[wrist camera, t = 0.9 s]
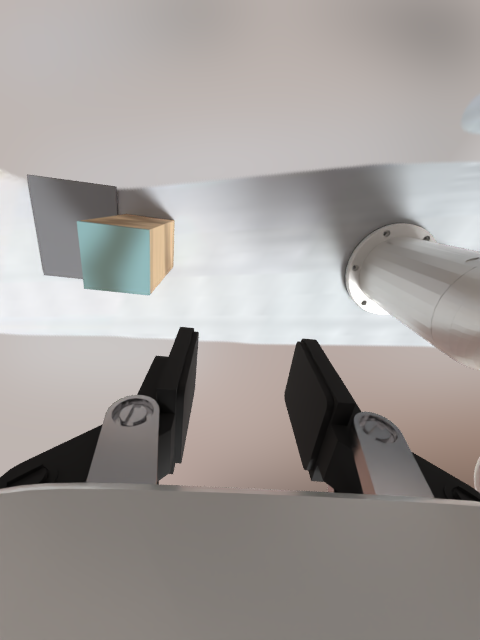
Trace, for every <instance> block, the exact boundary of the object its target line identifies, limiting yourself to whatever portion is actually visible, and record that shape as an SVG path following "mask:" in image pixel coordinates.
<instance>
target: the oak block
mask: <svg viewBox="0 0 480 640" xmlns="http://www.w3.org/2000/svg"><path fill="white" fill-rule="evenodd" d="M77 229H78V238H79V247H80V256H81V264H82V273H83V282H84V289H93V290H103V291H112V292H122V293H131V294H141V295H150V294H151V293H152V292H153V290H154V289H155V288H156V287H157V286H158V284H159V283H160V282H161V281H162V280H163V278H164V277H165V276H166V275H167V274H168V272H169V271H170V270H171V269H172V268H173V255H174V220H168V219H160V218H152V217H144V216H136V215H129V214H124V215H117V216H110V217H102V218H95V219H88V220H81V221H77Z"/></svg>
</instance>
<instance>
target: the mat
mask: <svg viewBox="0 0 480 640" xmlns="http://www.w3.org/2000/svg"><path fill="white" fill-rule="evenodd" d="M27 178H28V184H29V190H30V195H31V201H32V207H33V213H34V219H35V225H36V231H37V236H38V242H39V248H40V254H41V260H42V266H43V272H44V275H50V276H59V277H68V278H78V279H83V273H82V264H81V256H80V247H79V238H78V229H77V221H81V220H88V219H95V218H102V217H110V216H117V215H118V210H117V191H116V187H115V186H108V185H100V184H93V183H86V182H79V181H71V180H64V179H56V178H49V177H42V176H34V175H27Z"/></svg>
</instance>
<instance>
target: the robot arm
mask: <svg viewBox="0 0 480 640" xmlns="http://www.w3.org/2000/svg"><path fill="white" fill-rule="evenodd" d="M384 232H385V234H384V235H383V233H384ZM353 266H354V268H352V267H353ZM345 279H346V287H347V291H348V293H349V295H350V297H351V299H352V300H353V301H354V302H355V303H356V304H357V305H358V306H359V307H361V308H362V309H364V310H366V311H367V312H370V313H374V314H381V315H384V314H390V315H391V316H393V317H394V318H395V319H397V320H398V321H400V322H401V323H402V324H404V325H405V326H406V327H408V328H409V329H411V330H412V331H413V332H415V333H416V334H418V335H419V336H420V337H422V338H423V339H425V340H426V341H427V342H429V343H430V344H432V345H433V346H435V347H436V348H437V349H439V350H440V351H441V352H443V353H445V354H446V355H448V356H449V357H450V358H452V359H453V360H455V361H456V362H458V363H460V364H462V365H464V366H466V367H469V368H472V369H475V370H479V371H480V252H479V251H474V250H469V249H464V248H459V247H454V246H450V245H445V244H440V243H437V242H436V240H435V239H434V237H433V236H432V235H431V234H430V233H429V232H428V231H427V230H426V229H424V228H422V227H420V226H417V225H413V224H406V223H398V224H391V225H387V226H384V227H382V228H380V229H378V230H375V231H374V232H372V233H371V234H370V235H368V236H367V237H366V238H365V239H364V240H363V241H362V242H360V244H359V245H358V246H357V248H356V249H355V250H354V252H353V254H352V255H351V257H350V259H349V262H348V265H347V268H346V275H345ZM198 336H199V332H194V328H187V327H180V329H179V331H178V334H177V337H176V339H175V342H174V345H173V347H172V350H171V352H170V355H169V357H164V356H156V357H155V358H154V360H153V363H152V365H151V367H150V369H149V371H148V373H147V375H146V377H145V380H144V382H143V384H142V386H141V388H140V390H139V392H138V394H137V395H132V396H127V397H124V398H121V399H119V400H118V401H116V402H114V403H113V404H112V405H111V406H110V407H109V408H108V410H107V412H106V415H105V418H104V422H103V425H101V426H98V427H96V428H94V429H92V430H90V431H88V432H86V433H84V434H81V435H79V436H77V437H75V438H73V439H71V440H69V441H67V442H65V443H62V444H60V445H58V446H56V447H54V448H52V449H50V450H48V451H46V452H43V453H41V454H39V455H37V456H35V457H33V458H31V459H29V460H27V461H25V462H23V463H20V464H19V465H17V466H15V467H14V468H12V469H10V470H9V471H8V472H6V473H5V474H4V475H3V476H1V477H0V640H480V457H479V459H478V461H477V464H476V467H475V471H474V486H475V489H474V488H472V487H470V486H469V485H467V484H466V483H464V482H462V481H460V480H459V479H457V478H455V477H453V476H452V475H450V474H448V473H447V472H445V471H443V470H442V469H440V468H438V467H437V466H435V465H433V464H431V463H430V462H428V461H426V460H425V459H423V458H421V457H419V456H418V455H416V454H414V453H413V452H411V450H410V449H409V447H408V445H407V442H406V441H405V439H404V437H403V435H402V433H401V431H400V430H399V429H398V427H397V426H396V425H394V424H393V423H392V422H391V421H389V420H388V419H386V418H385V417H383V416H381V415H378V414H375V413H372V412H361V410H360V409H359V407H358V406H357V404H356V402H355V401H354V399H353V398H352V396H351V394H350V393H349V391H348V389H347V388H346V386H345V385H344V383H343V381H342V380H341V378H340V377H339V375H338V374H337V372H336V371H335V369H334V367H333V366H332V364H331V363H330V361H329V359H328V358H327V356H326V355H325V353H324V351H323V350H322V348H321V347H320V345H319V343H318V342H317V340H312V339H302V340H301V342H297V344H296V348H295V352H294V356H293V360H292V364H291V369H290V373H289V377H288V382H287V385H286V390H285V402H286V407H287V410H288V414H289V417H290V421H291V424H292V428H293V432H294V435H295V439H296V443H297V446H298V450H299V454H300V457H301V461H302V465H303V468H304V469H305V470H308V471H309V474H310V478H311V481H321V482H326V483H327V484H328V492H312V491H311V492H310V491H292V490H271V489H249V488H227V487H202V486H179V485H159V480H160V479H162V478H163V477H165V476H166V475H167V474H173V472H174V467H175V463H181V462H182V456H183V451H184V445H185V440H186V435H187V429H188V424H189V418H190V413H191V407H192V402H193V397H194V390H195V379H196V365H197V350H198Z"/></svg>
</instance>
